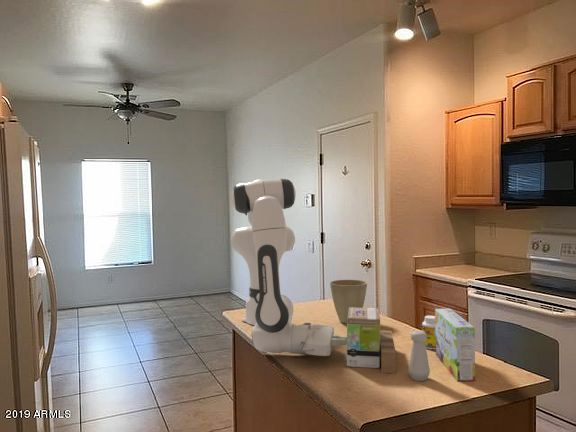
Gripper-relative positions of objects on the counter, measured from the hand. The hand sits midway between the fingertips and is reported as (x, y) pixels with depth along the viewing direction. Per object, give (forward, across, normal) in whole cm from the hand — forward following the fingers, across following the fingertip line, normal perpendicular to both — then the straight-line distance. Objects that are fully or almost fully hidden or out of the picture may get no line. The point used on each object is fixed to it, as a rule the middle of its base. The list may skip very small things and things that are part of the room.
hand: (347, 340), depth 146 cm
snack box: (+31, -4, +6) cm, 32 cm away
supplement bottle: (+27, +14, +6) cm, 31 cm away
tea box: (+5, 0, +6) cm, 8 cm away
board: (+12, 0, +6) cm, 13 cm away
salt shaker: (+20, -14, +6) cm, 25 cm away
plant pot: (-1, +44, +6) cm, 44 cm away
